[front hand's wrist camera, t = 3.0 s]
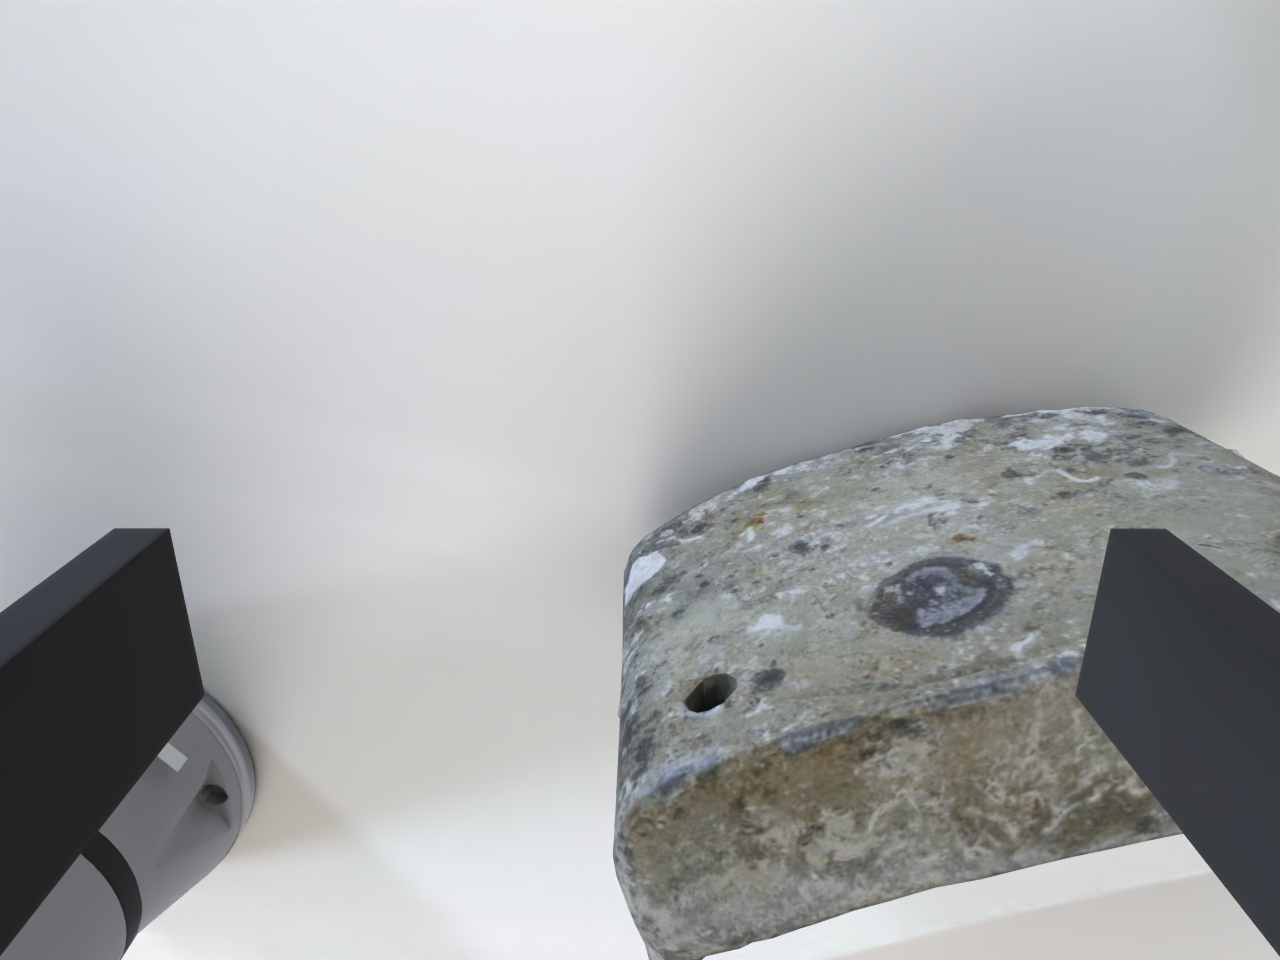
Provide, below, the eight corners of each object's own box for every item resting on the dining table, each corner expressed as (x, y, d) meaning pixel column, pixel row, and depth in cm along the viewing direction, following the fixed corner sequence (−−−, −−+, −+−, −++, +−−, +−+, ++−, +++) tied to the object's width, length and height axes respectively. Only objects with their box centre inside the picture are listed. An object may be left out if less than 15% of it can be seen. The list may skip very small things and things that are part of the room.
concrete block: (1157, 361, 40) (1599, 550, 22) (1165, 530, 44) (1559, 823, 25) (599, 496, 43) (567, 771, 24) (644, 648, 46) (647, 995, 27)
